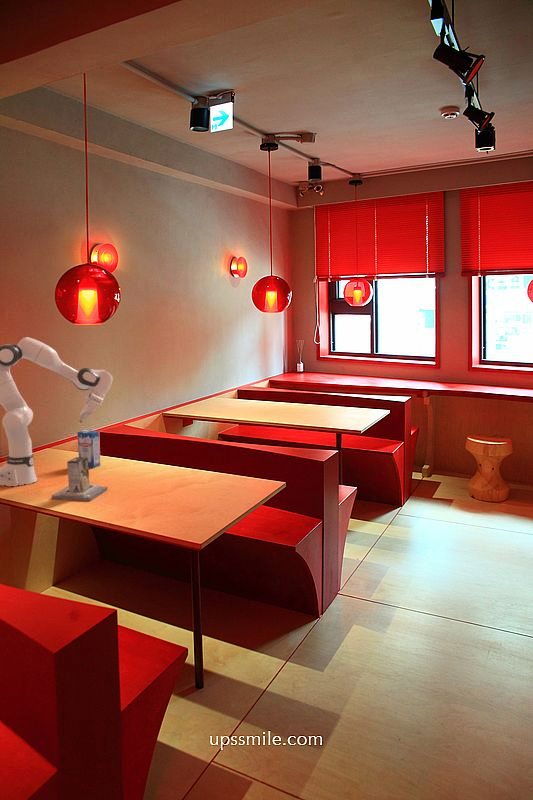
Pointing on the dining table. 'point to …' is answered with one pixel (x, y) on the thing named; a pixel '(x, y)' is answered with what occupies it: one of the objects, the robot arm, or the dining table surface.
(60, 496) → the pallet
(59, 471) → the dining table surface
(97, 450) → the milk carton
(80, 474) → the coffee box
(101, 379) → the robot arm
